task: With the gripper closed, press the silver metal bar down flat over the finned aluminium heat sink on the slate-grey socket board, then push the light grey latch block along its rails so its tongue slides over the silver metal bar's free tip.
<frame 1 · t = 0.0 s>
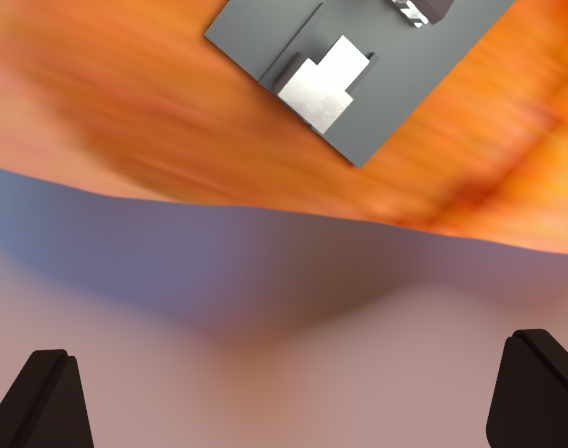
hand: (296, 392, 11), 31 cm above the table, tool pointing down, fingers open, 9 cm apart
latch: (321, 77, 34), point 5 cm above the table, slide at 3.0 cm
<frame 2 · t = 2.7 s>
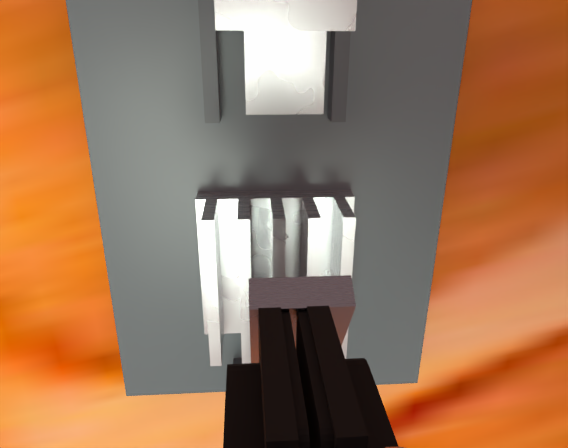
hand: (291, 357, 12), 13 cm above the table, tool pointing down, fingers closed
socket board: (273, 190, 24), on the table
silver metal bar: (286, 390, 17), point 9 cm above the table, hinge at 31.3°, touching gripper
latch: (279, 19, 16), point 5 cm above the table, slide at 3.0 cm
heatsink: (273, 245, 25), resting on socket board
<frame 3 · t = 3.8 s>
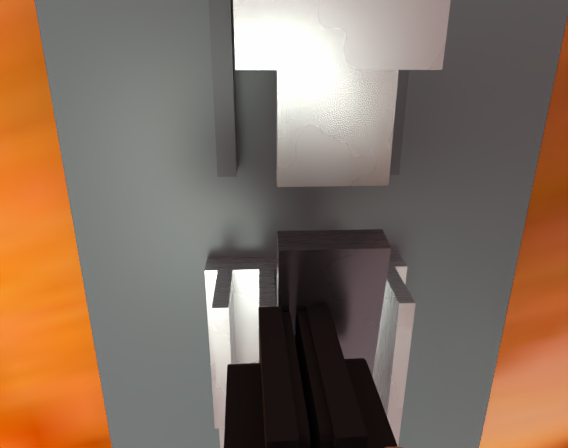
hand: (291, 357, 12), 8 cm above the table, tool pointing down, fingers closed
socket board: (300, 250, 19), on the table
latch: (321, 47, 12), point 5 cm above the table, slide at 3.0 cm
heatsink: (299, 315, 20), resting on socket board
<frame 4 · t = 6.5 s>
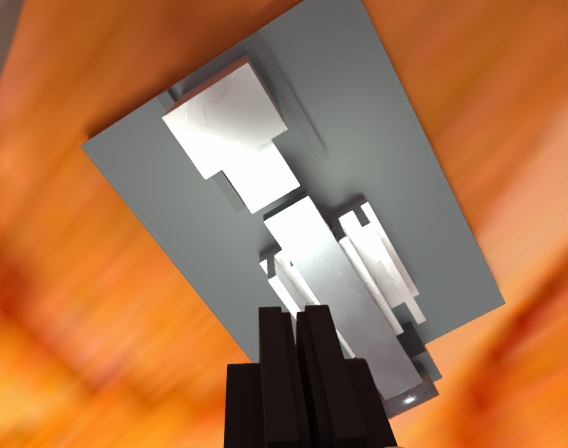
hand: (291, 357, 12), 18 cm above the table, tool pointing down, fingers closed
socket board: (311, 222, 29), on the table
silver metal bar: (356, 315, 25), point 6 cm above the table, hinge at 1.3°
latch: (242, 132, 22), point 5 cm above the table, slide at 3.0 cm
heatsink: (334, 259, 31), resting on socket board
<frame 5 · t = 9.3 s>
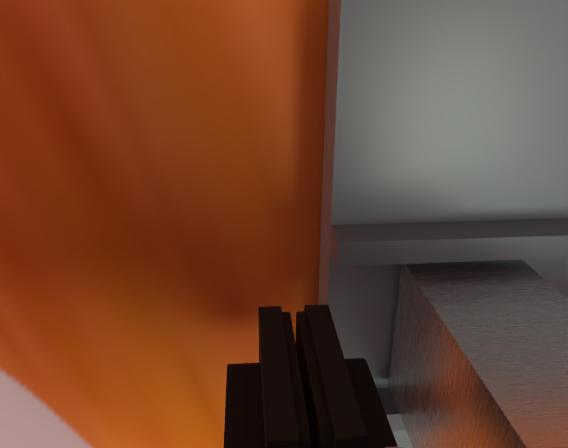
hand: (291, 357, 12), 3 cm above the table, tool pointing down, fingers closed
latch: (557, 400, 10), point 5 cm above the table, slide at 1.8 cm, touching gripper
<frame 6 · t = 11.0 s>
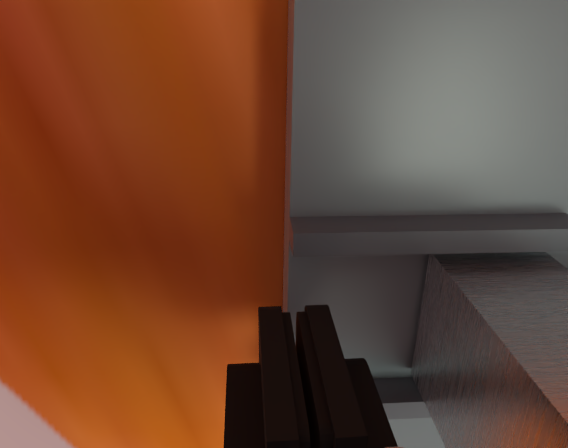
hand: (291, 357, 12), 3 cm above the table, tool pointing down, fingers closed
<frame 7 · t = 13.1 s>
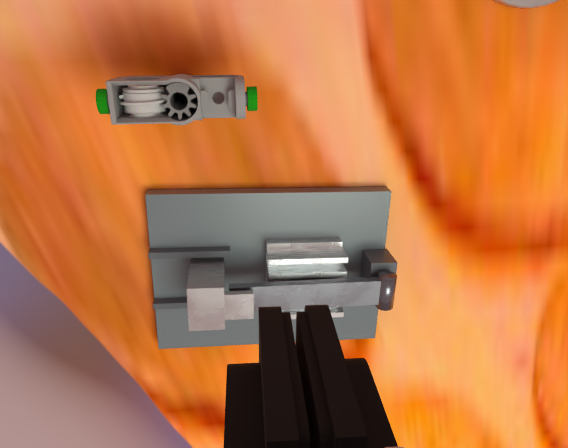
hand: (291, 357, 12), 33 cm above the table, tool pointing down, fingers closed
socket board: (269, 265, 47), on the table
silver metal bar: (313, 294, 42), point 6 cm above the table, hinge at 1.3°
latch: (221, 291, 42), point 5 cm above the table, slide at 0.0 cm
mechanical component: (188, 85, 40), on the table
heatsink: (299, 264, 48), resting on socket board
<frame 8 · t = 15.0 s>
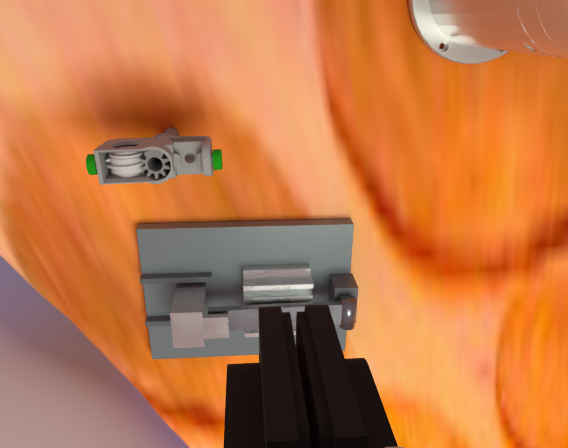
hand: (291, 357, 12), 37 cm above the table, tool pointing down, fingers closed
socket board: (248, 287, 53), on the table
silver metal bar: (283, 315, 48), point 6 cm above the table, hinge at 1.3°
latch: (202, 312, 49), point 5 cm above the table, slide at 0.0 cm
mechanical component: (171, 135, 46), on the table
heatsink: (275, 286, 54), resting on socket board
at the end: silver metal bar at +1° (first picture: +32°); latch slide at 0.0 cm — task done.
